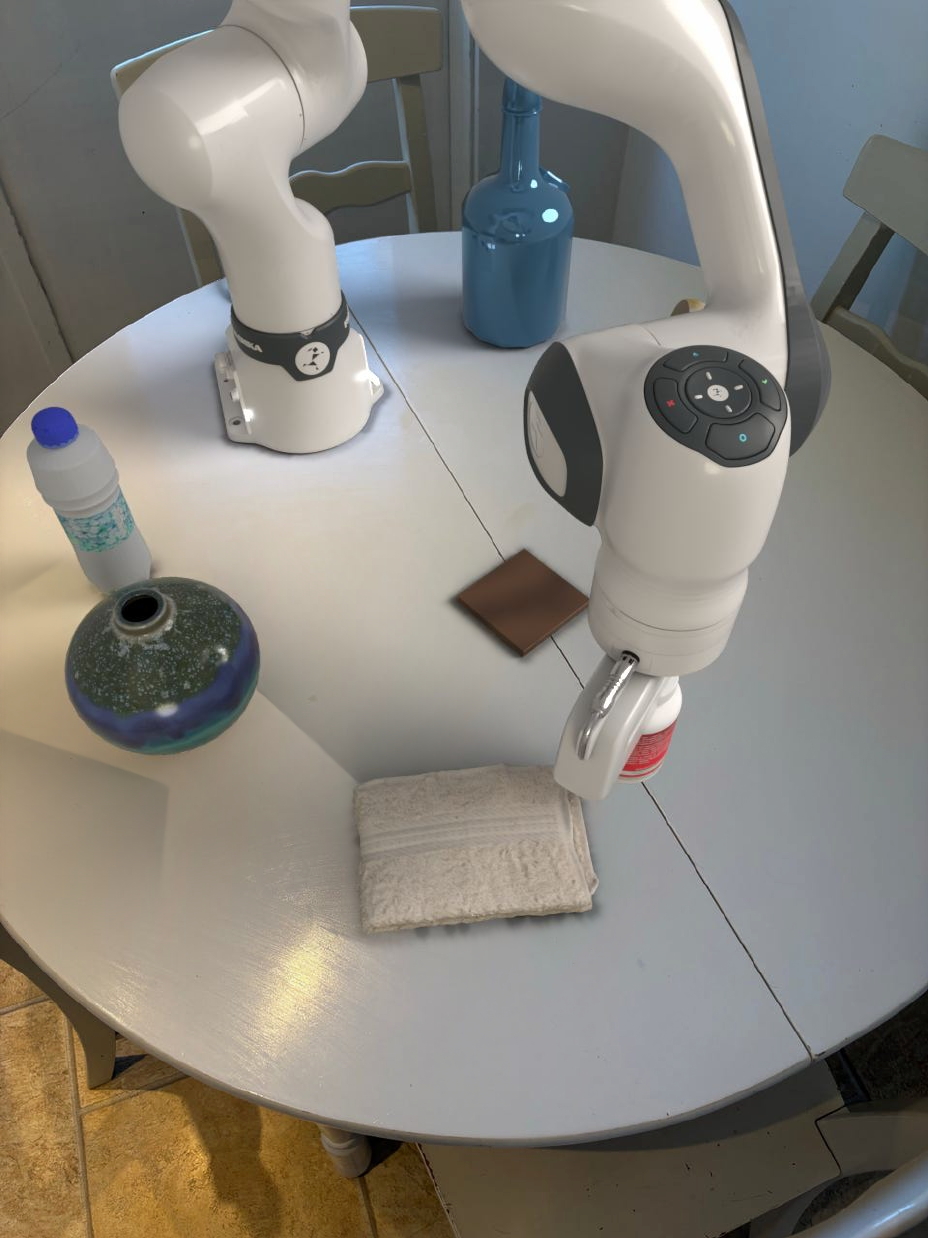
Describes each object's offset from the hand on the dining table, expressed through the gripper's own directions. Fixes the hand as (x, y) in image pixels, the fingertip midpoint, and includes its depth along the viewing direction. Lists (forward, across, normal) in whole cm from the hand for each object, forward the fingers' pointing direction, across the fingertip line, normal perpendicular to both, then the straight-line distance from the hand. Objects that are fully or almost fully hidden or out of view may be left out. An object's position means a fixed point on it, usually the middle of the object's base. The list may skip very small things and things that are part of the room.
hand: (630, 722), depth 65 cm
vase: (+10, -13, +36) cm, 39 cm away
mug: (+10, +58, +16) cm, 61 cm away
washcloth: (+10, -11, +7) cm, 16 cm away
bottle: (+10, -5, +51) cm, 52 cm away
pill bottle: (+4, 0, 0) cm, 4 cm away
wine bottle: (+10, +53, +39) cm, 67 cm away
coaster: (+9, +13, +16) cm, 22 cm away
